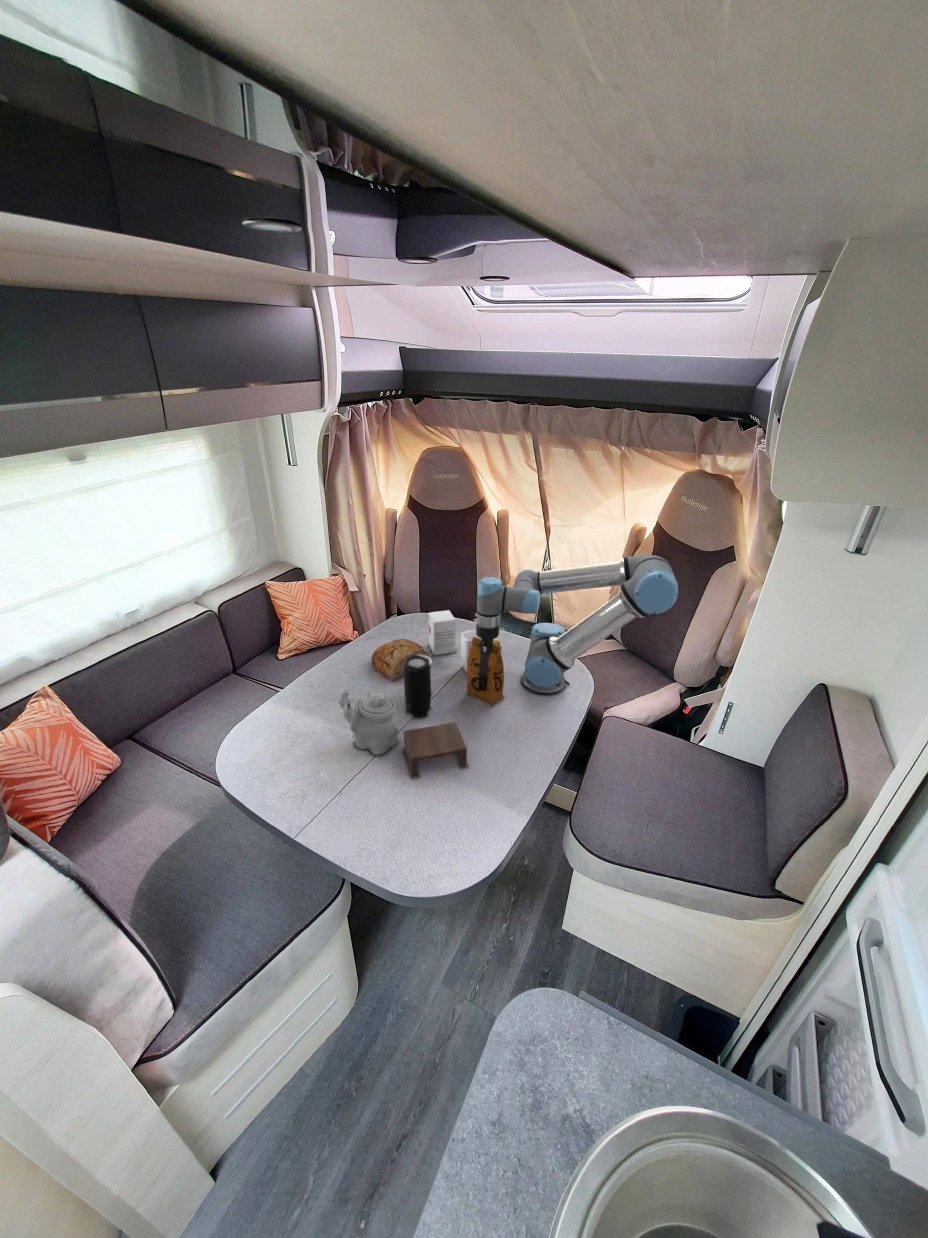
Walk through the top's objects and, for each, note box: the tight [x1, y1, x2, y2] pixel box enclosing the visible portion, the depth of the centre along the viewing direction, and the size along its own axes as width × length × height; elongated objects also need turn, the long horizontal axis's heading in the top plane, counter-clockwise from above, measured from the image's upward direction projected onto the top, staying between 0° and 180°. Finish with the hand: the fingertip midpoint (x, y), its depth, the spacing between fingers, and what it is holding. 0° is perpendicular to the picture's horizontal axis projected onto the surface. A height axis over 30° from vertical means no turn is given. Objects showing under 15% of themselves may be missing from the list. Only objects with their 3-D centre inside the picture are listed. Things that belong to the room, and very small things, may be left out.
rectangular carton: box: [427, 609, 457, 656], centre depth 203 cm, size 9×9×15 cm
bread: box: [371, 638, 429, 681], centre depth 193 cm, size 20×18×10 cm
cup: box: [460, 629, 481, 673], centre depth 189 cm, size 7×7×15 cm
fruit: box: [493, 637, 503, 652], centre depth 203 cm, size 7×7×10 cm
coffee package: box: [466, 637, 505, 707], centre depth 173 cm, size 10×12×22 cm
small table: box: [402, 721, 468, 778], centre depth 149 cm, size 16×12×7 cm
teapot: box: [338, 688, 399, 756], centre depth 152 cm, size 16×15×19 cm
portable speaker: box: [403, 655, 432, 719], centre depth 166 cm, size 9×9×20 cm
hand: (485, 678), depth 175 cm, fingers open, 13 cm apart
